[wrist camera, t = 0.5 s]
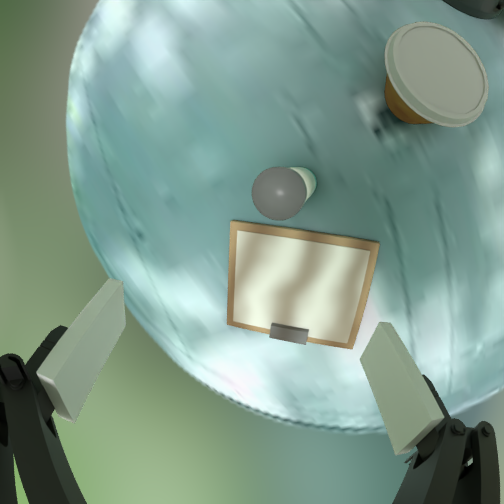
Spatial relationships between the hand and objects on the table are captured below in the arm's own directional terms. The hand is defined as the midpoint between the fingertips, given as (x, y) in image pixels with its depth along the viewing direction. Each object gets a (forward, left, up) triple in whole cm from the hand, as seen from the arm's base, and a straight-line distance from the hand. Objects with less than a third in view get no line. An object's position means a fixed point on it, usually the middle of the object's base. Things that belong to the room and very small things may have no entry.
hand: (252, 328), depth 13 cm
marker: (+1, -5, -21) cm, 22 cm away
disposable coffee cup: (-11, -17, -22) cm, 30 cm away
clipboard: (0, +8, -21) cm, 23 cm away
